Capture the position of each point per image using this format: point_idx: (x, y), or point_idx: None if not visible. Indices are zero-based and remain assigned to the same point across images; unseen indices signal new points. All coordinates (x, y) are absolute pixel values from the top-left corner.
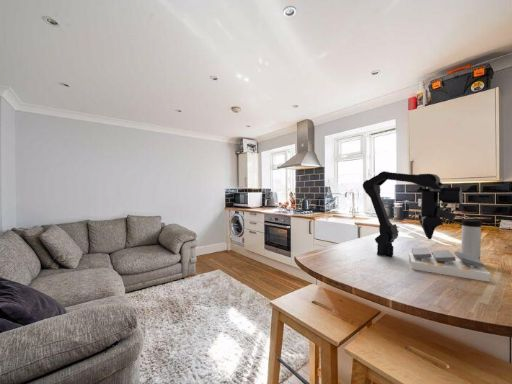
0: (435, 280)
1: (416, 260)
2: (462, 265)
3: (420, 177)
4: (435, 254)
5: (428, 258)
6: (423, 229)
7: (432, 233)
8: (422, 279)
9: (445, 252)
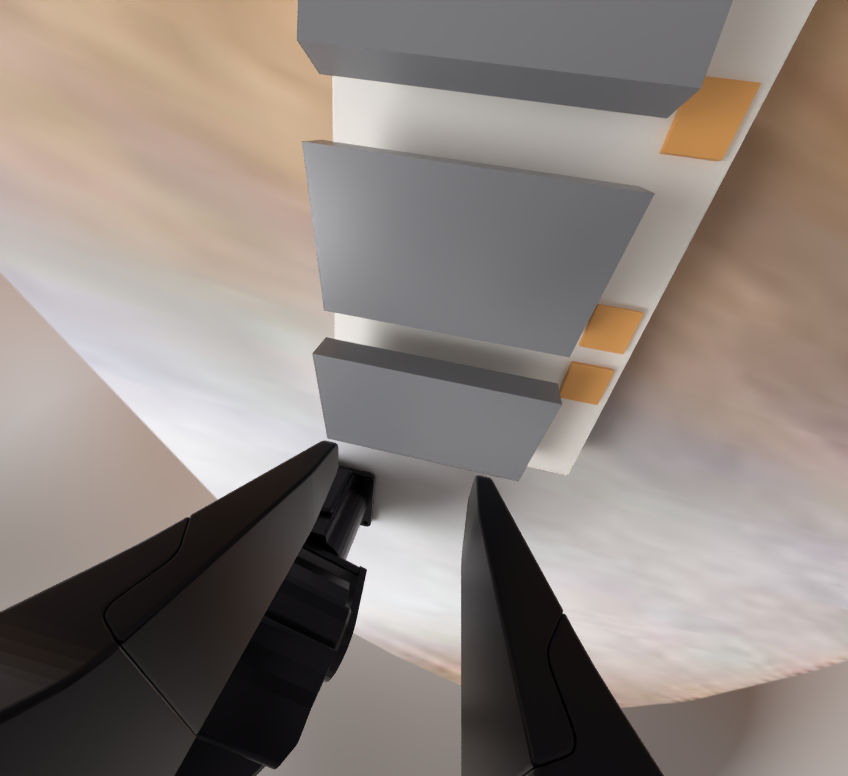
0: (754, 394)
1: None
2: None
3: None
4: (462, 324)
5: (441, 348)
6: (265, 611)
7: (543, 584)
8: (736, 451)
9: (407, 214)
